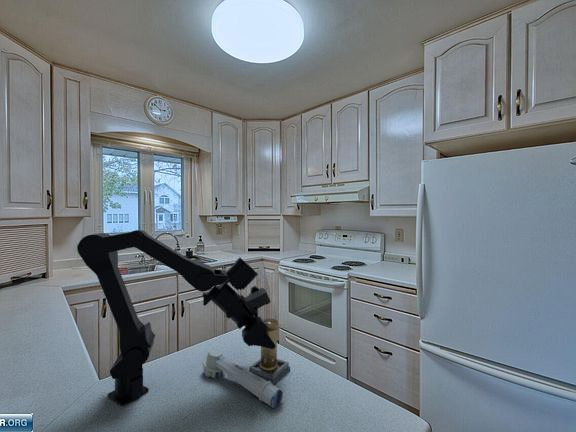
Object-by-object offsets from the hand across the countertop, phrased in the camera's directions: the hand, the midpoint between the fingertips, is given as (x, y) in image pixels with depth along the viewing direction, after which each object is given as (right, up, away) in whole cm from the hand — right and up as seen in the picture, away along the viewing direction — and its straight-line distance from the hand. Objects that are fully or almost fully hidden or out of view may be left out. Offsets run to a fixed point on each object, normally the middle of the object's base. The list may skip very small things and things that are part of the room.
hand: (270, 339), depth 76 cm
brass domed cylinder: (-1, -8, 0) cm, 8 cm away
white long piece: (-8, -9, -6) cm, 14 cm away
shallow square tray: (0, -9, 0) cm, 9 cm away
